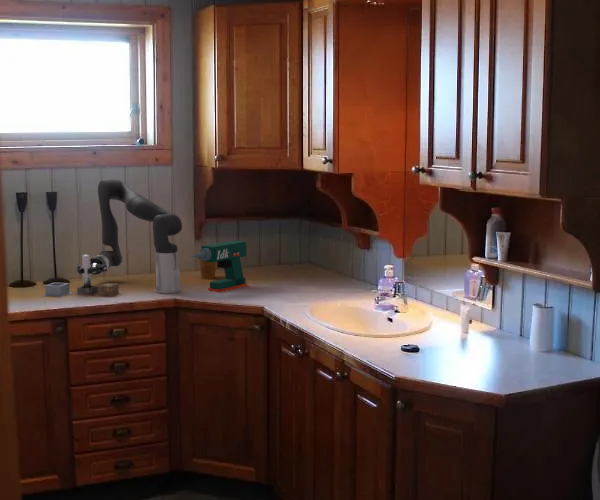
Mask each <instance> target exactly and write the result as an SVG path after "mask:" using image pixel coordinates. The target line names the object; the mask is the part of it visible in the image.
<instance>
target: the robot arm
mask: <svg viewBox="0 0 600 500" xmlns="http://www.w3.org/2000/svg"><path fill="white" fill-rule="evenodd" d="M97 196H98V202H99V210H100V215H101V216H100V217H101V227H102V228H101V229H102V231H101V239H102V240H101V242H102V245H104V246H108V247H111V249H112V250H102V251H101V250H100V252H99V253H98V255H96V256H92V257H90V266H91V268H89V269H88V274H91V275H94V276H96V275H99V274H101V273H104V272H107V271H108V269H109V268H110V267H119V266H120V265H122V262H123V257H122V253H121V248H120V246H119V227H118V223H117V220H116V218H115V216H114V214H113V212H112V210H111V206H110V205H111V204H110V203H111V201H110V200H114V201H115V200H116V201H120V202H121V203H124V205H125V208H126V210H127V211H128V212H129V213H130V214H131V215H133V216H134V217H136V218H137V219H140V220H143V221H147V222H150V223H152V235H153V244H154V245H153V246H154V249H155V274H156V275H155V278H156V279H155V280H156V283H155V284H156V293H159V294H176V293H178V292H180V291H181V270H180V268H179V265H178V264H179V262H178V261H179V259H178V257H179V256H178V255H179V254H178V252H179V250H178V245H177V244H175V243H173V242H171V241H169V237H170V236H176V235H177V234H179V233H180V232H181V231H182V228H183V224H182V223H183V222H182V221H181V218H180V217H179V216H178V215H177V214H175V213H174V212H172V211H169V210H166V209H164V208H163V207H160V206H159V205H158V204H156V203H154V202H153V201H151V200H150V199H148V198H146V197H145V196H143V195H141V193H138V192H136V191H135V190H133V189H132V188H130V187H129V186H128V185H127V184H125V182H123V181H121V179H115V178H103V179H101V180H100V181H99V182H98V184H97ZM76 272H77V273H78V274H79V275H83V265H81V264H79V263H77V264H76Z"/></svg>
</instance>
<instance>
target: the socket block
mask: <svg viewBox="0 0 600 500" xmlns="http://www.w3.org/2000/svg"><path fill="white" fill-rule="evenodd" d="M104 284H114V285H111V286H102V285H104ZM119 284H120V283H113V282H110V283H109V282H104V283H101V284H98V285H91V288H83V285H81V286H79V287H77V288H76V289H77V291H76V292H73V293H70V296H72V295H74V296H89V297H103V298H104V297H105V298H118V297H121V296H122V295H125V294H126V292H120V290H119Z"/></svg>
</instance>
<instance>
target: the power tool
mask: <svg viewBox="0 0 600 500" xmlns="http://www.w3.org/2000/svg"><path fill="white" fill-rule="evenodd" d="M243 257H247V241H246V240H230V241H229V240H228V241H223V242H217V243H211V244H210V243H209V244H205V245H204V244H203V245H201V246H200V250H199V252H198V253H195V254H193V255H192V256H191V258H195V259H199V258H200V259H201V260H202V261H206V262H217V263H216V268H219V269H223V270H224V274H225V278H222V279H219V280H212V281H210V282H209V287H208V288H207V291H208V290H209V291H208V292H213V291H215V293H223V292H222V291H224V292H227V291H226V290H228V291H232V290H236V289H235V288H237V289H240V288H239V287H241V288H244V287H243V286H245V287H248V283H247V279H246V278H247V277H244V273H243V267H242V262H241V258H243ZM231 289H232V290H231Z"/></svg>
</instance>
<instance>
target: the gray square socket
mask: <svg viewBox="0 0 600 500" xmlns="http://www.w3.org/2000/svg"><path fill="white" fill-rule="evenodd" d="M44 288H45V289H44V290H45V291H44V292H45V294H42V295H41V296H42V297H43V296H46V297H60V298H62V297H64V296H66V295H71V294H72V293H74V292H72V291H70V283H69V282H51V283H48V284H45V285H44Z"/></svg>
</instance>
